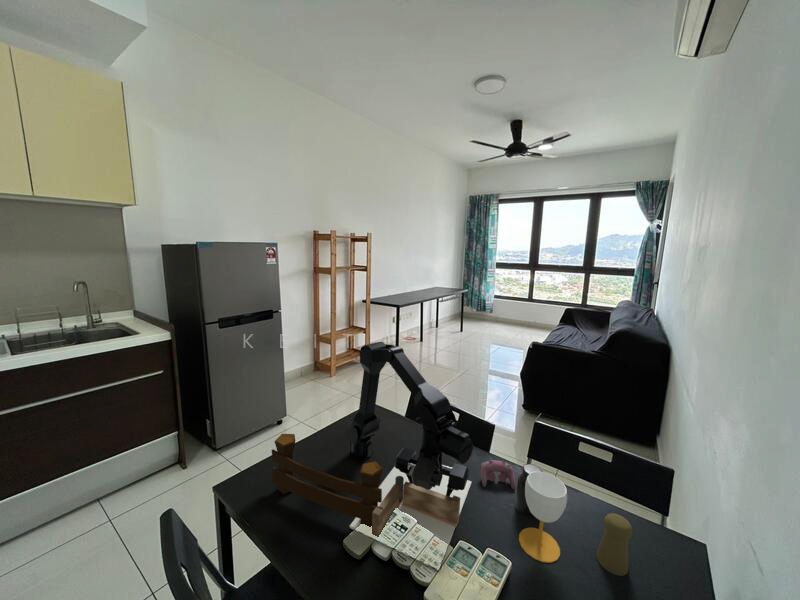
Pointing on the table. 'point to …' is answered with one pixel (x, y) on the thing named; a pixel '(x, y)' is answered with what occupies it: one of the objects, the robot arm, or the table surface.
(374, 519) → the fence fixed section
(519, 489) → the supplement bottle
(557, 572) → the table surface
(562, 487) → the cup
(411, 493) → the fence panel
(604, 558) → the cork
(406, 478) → the card
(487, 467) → the video game controller
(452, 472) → the robot arm
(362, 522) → the decorative fence
